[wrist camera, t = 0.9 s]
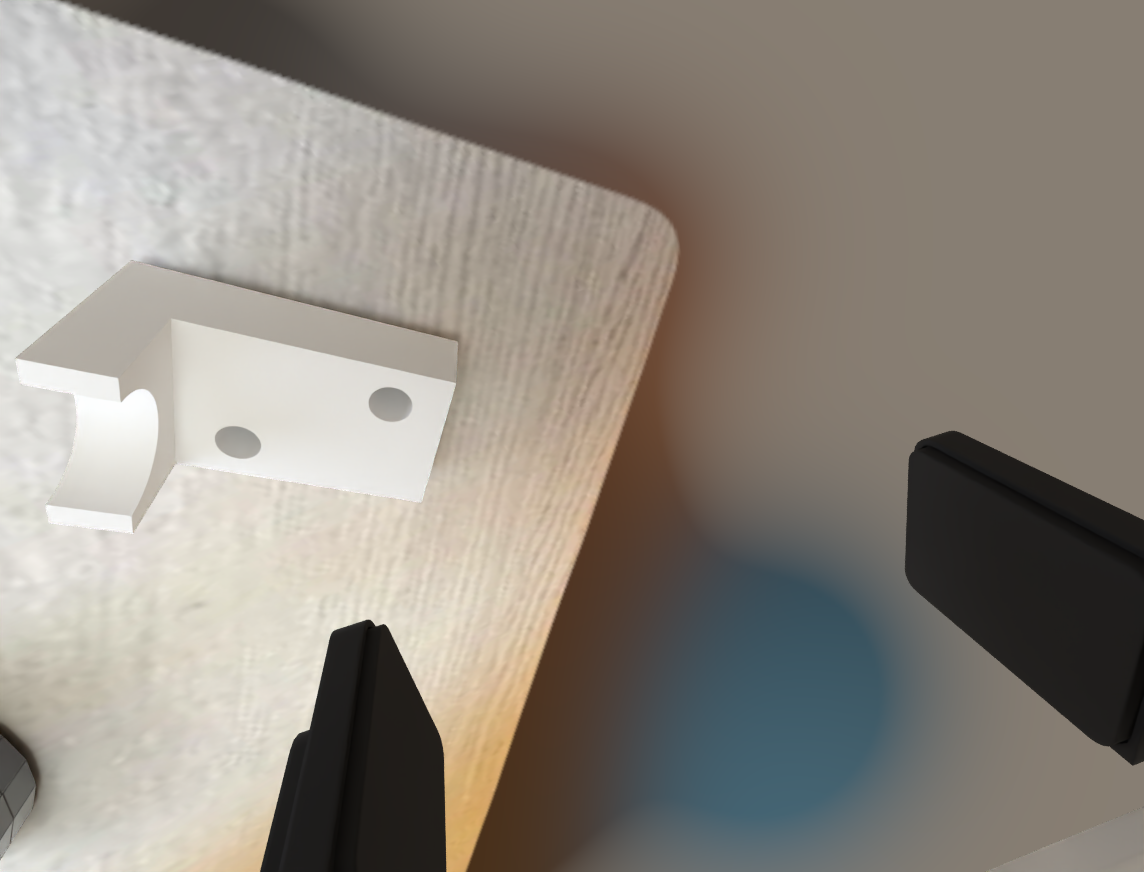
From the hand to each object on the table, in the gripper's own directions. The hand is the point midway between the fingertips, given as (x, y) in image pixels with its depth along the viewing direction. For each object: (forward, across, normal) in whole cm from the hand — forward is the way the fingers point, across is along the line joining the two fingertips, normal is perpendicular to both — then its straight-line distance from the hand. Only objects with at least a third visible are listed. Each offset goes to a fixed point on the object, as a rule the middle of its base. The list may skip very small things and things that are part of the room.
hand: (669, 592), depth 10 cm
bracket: (+21, +11, 0) cm, 23 cm away
